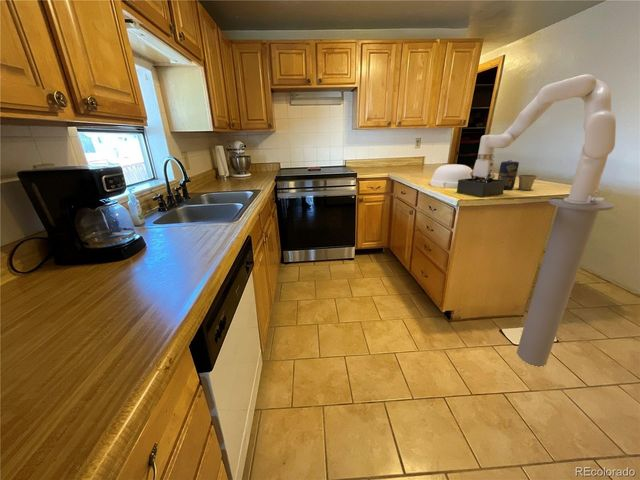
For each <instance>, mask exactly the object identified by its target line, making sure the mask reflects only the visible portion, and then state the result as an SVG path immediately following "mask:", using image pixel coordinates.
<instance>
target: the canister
mask: <svg viewBox="0 0 640 480" xmlns="http://www.w3.org/2000/svg"><path fill="white" fill-rule="evenodd" d="M499 165H500V166H499V171H498V175H497V179H498V180H505V185H504V190H513V189H514V188H515V183H516V179H517V175H518V171H519V165H520V162H519V161H515V160H514V161H513V160H512V159H508V160H507V161H501V162H500V164H499Z"/></svg>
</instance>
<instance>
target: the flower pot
mask: <svg viewBox="0 0 640 480" xmlns="http://www.w3.org/2000/svg"><path fill="white" fill-rule="evenodd" d="M517 175H518V190H520V191H531V190H532V187H533V185H534V183H535V180H536V179H537V177H538V175H535V174H517Z"/></svg>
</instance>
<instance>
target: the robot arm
mask: <svg viewBox="0 0 640 480" xmlns="http://www.w3.org/2000/svg"><path fill="white" fill-rule="evenodd" d="M573 98H579V99H582V100H583V104H584V121H583V130H584V144H583V146H582V149H581V152H580V156H579V160H578V164H577V167H576V170H575V173H574V177H573V180H572V184H571V187H570V190H569V194H568V196H567V197H568V198H565V197H564V198H563V199H564V201H565V202H568V203H573V204H582V205H594V204H597V202H604V201H606V198H605V197H601V196H600V197H599V194H597V191H598V188H599V185H600V182H601V179H602V176H603V174H604V170H605V168H606V164H607V161H608V157H609V155H610V154H611V153H612V152H613V151H614V149H615V145H616V129H617V126H616V124H617V122H616V121H617V120H616V116H615V115H614V113H612V93H611V89H610V87H609V85H608V84H607V83H606V82H604V81H602V80H601V79H597V78H596V76H595V75H593V74H590V73H585V74H580V75H577V76H574V77H570V78H566V79H562V80H560V81H555V82H552V83H548V84H546V85H544V86H543V87H542V88H540V90H539V91H538V94H536V96H535V97H534V98H533V99H532V100H531V101H530V102H529V103H528V104H527V105H526V106H525V107H524V108H523V109H522V110H520V112H519V114H518V115H517V116H516V119H515V120H514V121H513V123H511V125H509V127H508V128H507V129H506V130H505V131H504V132H503V133H501V134H484V135H482V136H481V137H480V140H479V141H480V142H479V148H478V153H477V159H475V163H474V165H473V170H472V172H471V173H470V175H471V177H472V180H473V182H475V180H477V179H478V177H484V178H485V182H484V183H489V182H490V181H491V180H492V179H495V177H496V175H495V174H494V169H495V160H494V158H495V155H494V152H495V149H505V148H507V147H509V146H511V145H512V144H513V143H514V142H515V141H516V140H517V139H519V137H520V136H521V135H522V134H523V133H524V132H525V131H526V130H527V129H528V128H530V127H532V125H533V124H534V123H535V122H536V121H537V120H538V119H539V118H541V116H542V115H543V114H545V112H547V110H548V109H550V108H551V107H552V105H554V104H555V103H556V102H560V101H565V100H568V99H573ZM492 159H493V160H492Z"/></svg>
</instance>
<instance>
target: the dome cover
mask: <svg viewBox="0 0 640 480" xmlns="http://www.w3.org/2000/svg"><path fill="white" fill-rule="evenodd" d="M472 171H473V170H472V168H471V167H469V166H468V165H466V164H457V163H453V164H452V163H451V164H450V163H449V164H444V165H440V166H438V167H437V168H435V170H434V172H433V173H432V174H433V175H432V178H431V179H430V181H429V186H432V187H436V188H441V189H457V186H458V180H461V179H469V178H472V177H471V175H470V173H471V172H472Z"/></svg>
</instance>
